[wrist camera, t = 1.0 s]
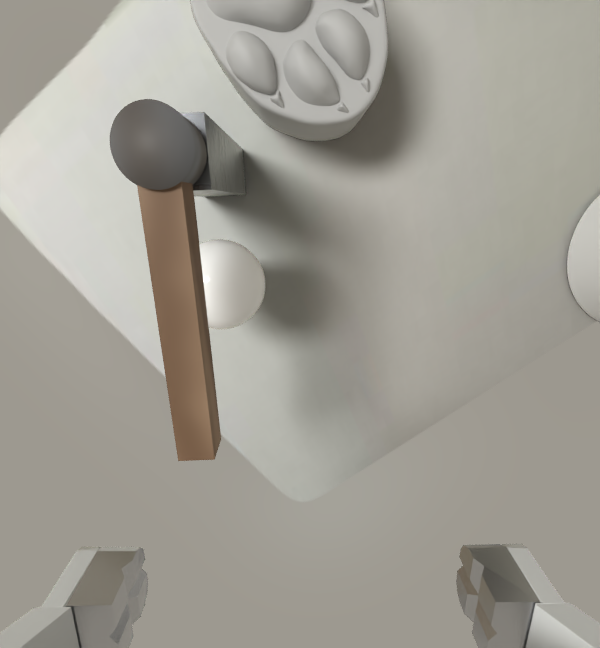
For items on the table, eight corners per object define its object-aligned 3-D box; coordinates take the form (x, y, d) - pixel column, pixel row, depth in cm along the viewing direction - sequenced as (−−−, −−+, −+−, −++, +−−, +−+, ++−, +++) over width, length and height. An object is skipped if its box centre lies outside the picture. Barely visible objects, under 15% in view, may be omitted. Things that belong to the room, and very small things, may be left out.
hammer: (202, 110, 19) (188, 97, 17) (235, 435, 25) (228, 462, 22) (127, 114, 19) (102, 101, 17) (175, 438, 25) (162, 464, 22)
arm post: (242, 149, 34) (203, 112, 20) (246, 194, 35) (211, 189, 21) (199, 151, 34) (130, 115, 20) (204, 196, 35) (141, 192, 21)
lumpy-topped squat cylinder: (295, -70, 29) (293, -177, 21) (402, 82, 32) (438, 41, 24) (194, 39, 31) (156, -20, 23) (303, 173, 34) (305, 164, 26)
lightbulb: (247, 217, 35) (225, 224, 25) (285, 280, 37) (280, 311, 26) (187, 255, 36) (141, 277, 26) (226, 314, 38) (199, 358, 27)
